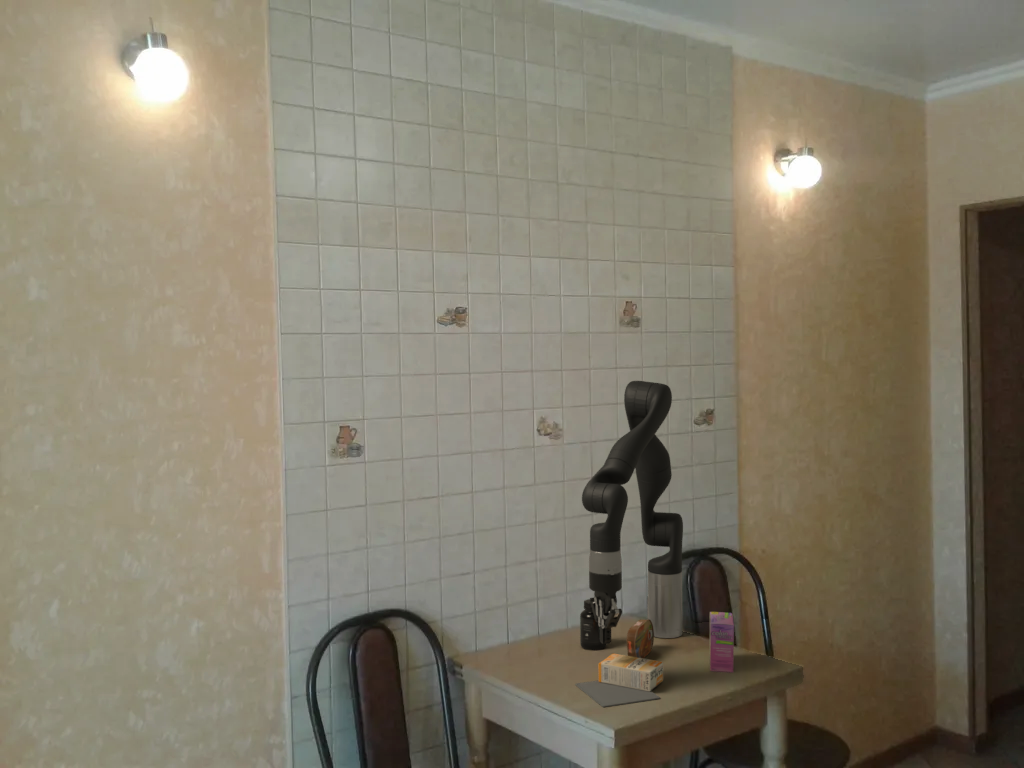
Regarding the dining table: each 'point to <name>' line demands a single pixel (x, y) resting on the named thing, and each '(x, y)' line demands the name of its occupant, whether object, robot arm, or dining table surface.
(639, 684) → the supplement box
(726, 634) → the box
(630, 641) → the tin
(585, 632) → the supplement bottle
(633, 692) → the mat
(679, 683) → the dining table surface
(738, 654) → the dining table surface
